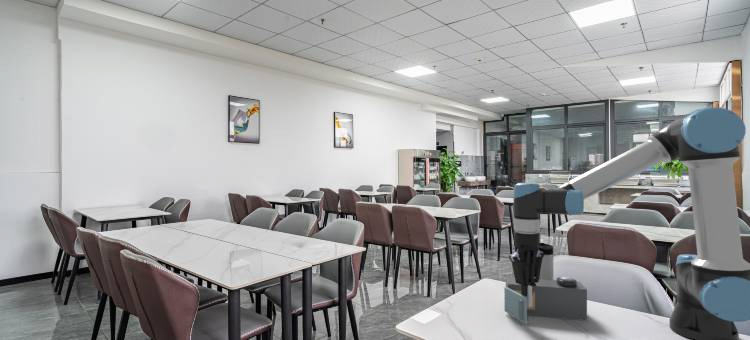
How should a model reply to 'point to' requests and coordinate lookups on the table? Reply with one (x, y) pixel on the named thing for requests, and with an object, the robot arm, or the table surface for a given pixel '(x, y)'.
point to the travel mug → (546, 262)
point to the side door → (515, 304)
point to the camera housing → (556, 298)
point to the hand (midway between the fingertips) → (527, 305)
